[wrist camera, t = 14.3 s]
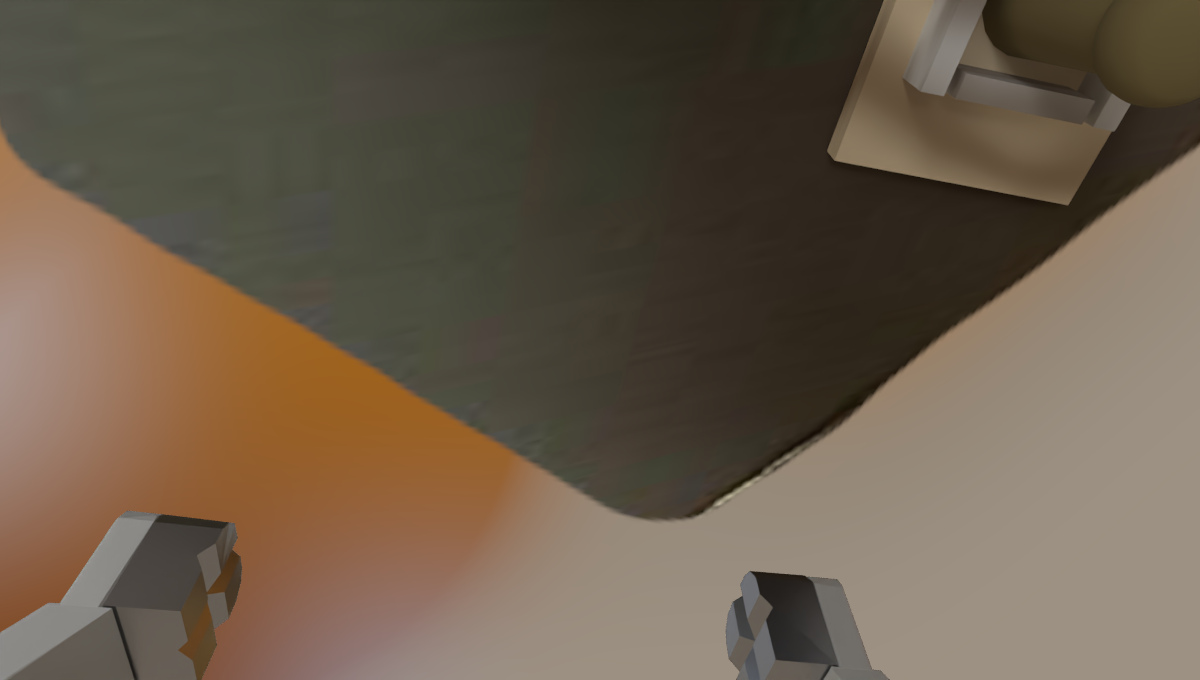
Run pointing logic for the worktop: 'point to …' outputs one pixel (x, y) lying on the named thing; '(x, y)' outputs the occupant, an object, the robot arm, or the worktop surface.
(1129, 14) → the cork
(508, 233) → the worktop surface
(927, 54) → the collar board
